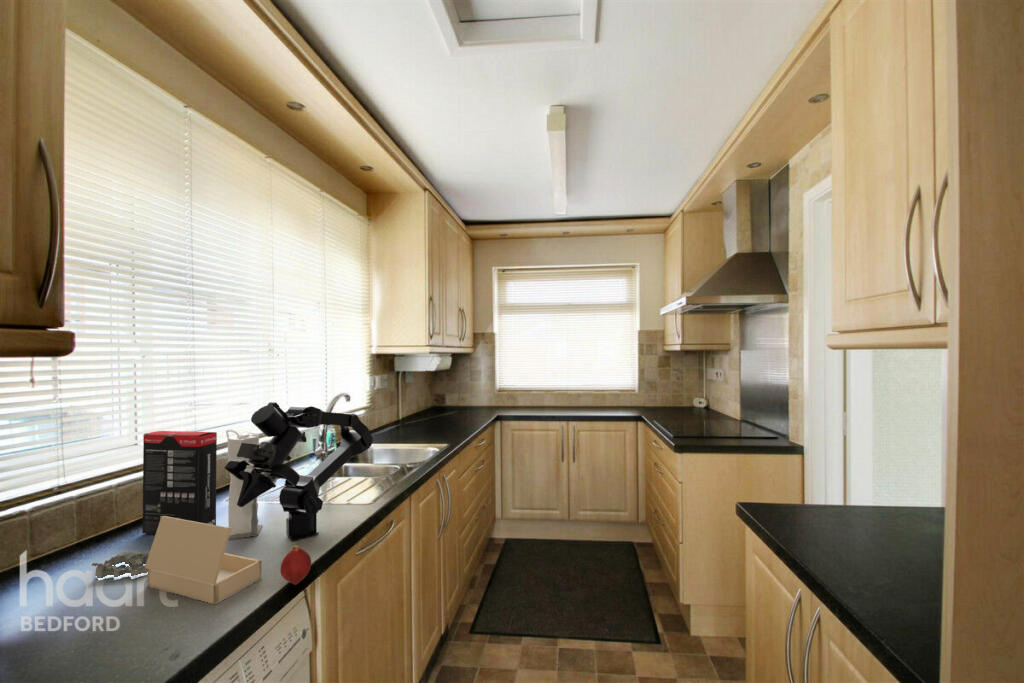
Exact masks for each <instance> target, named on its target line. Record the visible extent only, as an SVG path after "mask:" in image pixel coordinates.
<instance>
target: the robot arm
mask: <svg viewBox="0 0 1024 683" xmlns="http://www.w3.org/2000/svg"><path fill="white" fill-rule="evenodd" d="M250 421H251V423H253V425H254V426H255V427H257V428H258V430H260V432H261V433H263V434H264V435H265V436H266V437H268V438H271V437H272V438H271V439H270V440H269V441H261V442H260V443H259V445H257V444H249V443H241V446H240V448H239V451H238V453H237V457H244V458H248V459H249V462H250V463H251V464H253V465H254V466H251V465H249V464H248V463H247V462H246V461H245V460H236V459H234V460H230V461H229V462H228V461H227V463H226V464H225V466H224V469H225V470H226V471H227V472H228V473H229V474H230V473H231V474H232V475H234V476H235V477H236V478H238V479H239V480H243V486H242V489H241V493H240V496H239V499H238V502H237V506H239V507H243V506H245V505H246V504H248V503H249V502H251V501H252V500H254V499H255V498H257V499H258V497H260V496H261V495H263V494H264V493H266V492H268V491H270V490H271V489H274V488H276V487H277V485H276V483H277V481H278V480H285V481H284V484H283V485H284V486H283V487H282V489H281V490H280V492H279V496H278V497H279V504H280V505H281V507H282V510H283V511H282V512H284V513H286V512H287V513H288V517H287V518H286V520H285V521H286V523H285V524H286V526H285V527H286V529H285V530H286V531H285V532H286V535H287V536H288V537H289V538H290V540H291V541H297V540H301V539H304V537H305V538H308V537H307V536H309V537H312V536H311V535H313V536H316V535H315V534H317V535H319V534H318V533H319V531H318V530H317V522H318V521H317V520H318V519H317V517H318V515H317V514H318V513H319V511H321V510H322V508H323V505H324V501H323V500H322V499H321V498H320V497H319V495H320V489H321V488H322V486H323V485H325V483H327V481H329V480H330V479H331V477H333V476H334V475H335V474H336V473H337V472H338V471H339V470H340V469H341V468H342V467H343V466H344V465H345V464H347V462H349V461H350V460H351V459H352V457H355V456H357V455H361V454H363V453H364V452H366V451H368V450H369V449H370V448H371V447H372V444H373V440H374V438H373V435H372V433H371V431H370V429H369V428H368V426H367V425H365V424H364V423H363V422H362V421H361V419H360V417H359V416H358V415H357V414H355V413H352V412H351V413H349V412H343V413H341V412H331V411H323V409H321V408H318V407H315V406H312V405H311V406H309V405H291V406H290V407H289V408H288V409H287V410H285V411H284V409H282V408H281V407H280V405H279V404H278V402H275V401H274V402H273V401H269V402H268V403H267V405H264V406H262V407H260V408H259V409H258V410H256V411H254V412H253V414H252V415H251V419H250ZM323 425H325V426H326V425H327V426H328V425H329V426H339V427H340V430H339V435H340V438H341V439H340V444H339V446H338V448H337V447H336V449H335V450H334V451H332V453H331V454H329V455H328V456H327V457H326V458H324V460H323V461H322V462H320V463H319V464H318V465H317V466H316V467H315V468H314V469H312V471H310V472H309V473H308V474H306V475H300V474H299V473H298V472H297V471H296V470H295V469H294V468H293V467H292V466H291V465H289V464H284V463H285V462H290V461H291V460H292V457H291V456H290V455H291V453H292V452H293V450H294V449H295V447H296V445H297V444H298V443H306V442H307V437H306V432H305V431H301V430H299V429H298V428H300V429H301V428H303V429H311V428H315V427H319V426H323ZM350 427H351V429H352V430H350V429H349V428H350Z"/></svg>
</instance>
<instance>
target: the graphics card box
mask: <svg viewBox="0 0 1024 683" xmlns="http://www.w3.org/2000/svg"><path fill="white" fill-rule="evenodd" d="M217 433H218V432H215V431H189V430H188V431H187V430H186V431H185V430H184V431H180V430H157V431H151V432H145V433H143V435H142V436H143V438H142V439H143V441H142V442H143V443H142V444H143V448H142V449H143V450H142V453H143V455H142V457H143V458H142V462H143V463H142V533H141V534H148V535H149V534H150V535H151V534H152V535H156V532H157V529H158V526H159V523H160V520H161V517H162V516H167V517H172V518H178V519H183V520H189V521H194V522H200V523H206V524H211V525H217V451H218V450H217V444H218V442H217V440H218V439H217V437H218V434H217Z"/></svg>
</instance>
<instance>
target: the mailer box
mask: <svg viewBox="0 0 1024 683" xmlns="http://www.w3.org/2000/svg"><path fill="white" fill-rule="evenodd" d="M260 579H261V580H262V560H261V559H256V558H251V557H247V556H242V555H239V554H238V555H236V554H232V553H228V552H225V553H224V557H223V560H222V564H221V567H220V571H219V575H218V578H217V582H216V584H214V585H213V584H208V583H204V582H200V581H196V580H192V579H188V578H184V577H180V576H176V575H172V574H168V573H164V572H160V571H156V570H151V569H148V575H147V588H149V589H154V588H155V590H157V589H160V590H159V591H161V590H164V591H163V592H165V591H167V592H166V593H169V592H171V593H170V594H172V593H176V594H179V595H178V596H180V595H183V596H182V597H184V596H187V597H190V598H189V599H191V598H193V599H192V600H195V599H198V600H201V601H200V602H202V601H205V602H204V603H206V602H208V603H207V604H210V603H213V604H217V603H218V604H220V603H222V602H224V601H225V600H224V599H226V598H227V599H229V598H231V597H232V596H231V595H233V594H234V595H236V594H238V593H240V592H241V591H240V590H242V589H243V590H245V589H247V588H248V587H247V586H249V585H250V586H252V585H254V584H255V583H254V582H256V581H258V580H259V581H261V580H260ZM259 581H258V582H259ZM253 583H254V584H253ZM256 583H257V582H256ZM251 584H252V585H251ZM250 586H249V587H250ZM246 587H247V588H246ZM244 588H245V589H244ZM243 590H242V591H243ZM239 591H240V592H239ZM237 592H238V593H237ZM235 593H236V594H235ZM176 594H175V595H176ZM234 595H233V596H234ZM230 596H231V597H230ZM187 597H186V598H187ZM228 597H229V598H228ZM227 599H226V600H227ZM198 600H197V601H198ZM223 600H224V601H223ZM221 601H222V602H221ZM219 602H220V603H219ZM213 604H212V605H213ZM218 604H217V605H218Z"/></svg>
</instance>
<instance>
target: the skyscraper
mask: <svg viewBox="0 0 1024 683" xmlns="http://www.w3.org/2000/svg"><path fill="white" fill-rule="evenodd" d="M229 432H231V433H233V434H235V435H236V436H237V437H230V436H229ZM225 433H226V437H227V438H226V439H227V459H228V460H227V463H228V462H229V461H230V460H234V459H236V460H245V461H246V462H247V463H248V464H249V465H251V466H254V465H253V464H251V463H250V462H249V459H248V458H244V457H237V453H238V451H239V448H240V446H241V443H249V444H257V445H260V442H259V441H260V435H259V434H258V433H255V432H246V433H238V432H237V431H235V430H233V429H227V430H226V432H225ZM229 476H230V483H229V490H228V491H229V492H228V511H227V512H228V528H231V532H230V535H229V539H228V541H231V539H232V540H239V539H244V537H246V538H251V537H250V536H253V537H258V536H259V534H260V533H259V532H261V530H262V528H263V524H259V518H258V517H259V516H258V512H259V511H258V510H259V502H258V497H257V498H255V499H254V500H252V501H251V502H249V503H248V504H246V505H245V506H243V507H239V506H237V502H238V499H239V496H240V493H241V489H242V486H243V480H239V479H238V478H236V477H235V476H234V475H232V474H231V473H230V472H229ZM257 535H258V536H257ZM238 538H239V539H238Z"/></svg>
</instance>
